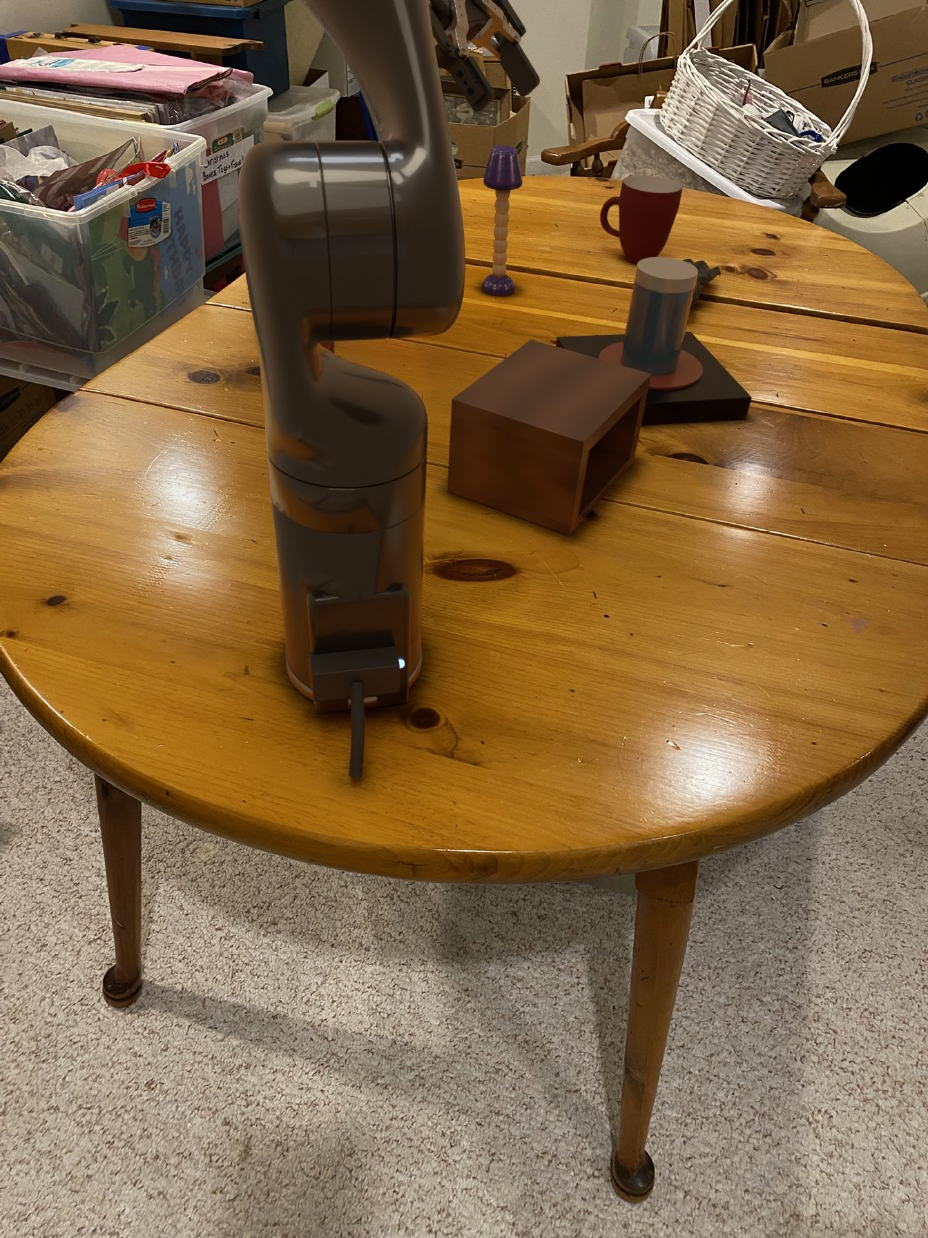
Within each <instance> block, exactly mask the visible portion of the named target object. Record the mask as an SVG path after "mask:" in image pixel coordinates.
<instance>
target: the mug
mask: <svg viewBox="0 0 928 1238" xmlns="http://www.w3.org/2000/svg"><path fill="white" fill-rule="evenodd" d="M683 189H684V187H683V185H682V184H681V183H680V182H679V181H677V180H674V179H672V178H668V177H664V176H659V175H651V174H649V175H648V174H637V175H636V174H635V175H629V176H627V177H625V178H623V179H622V181H621V187H620V191H619V196H612V197H610V198H608V199H607V200H606V201H605V202H604V203H603V205H602V206H601V210H600V214H599V220H600V221H599V222H600V225H601V227H602V229H603V230H604V231H605V232H606V233H608V234H609V235H611V236H613V237H615V238H618V239H619V244H620V246H621V247H620V248H621V249H622V253H623V256H624V259H625V260H627V262H629V263H632V264H634V265H637V263H638V262H639V261H640V260H642V259H645V258H651V257H659V255H660V254H661V252H662V251H663V250H664V248H665V246H666V244H667V242H668V239H669V237H670V234H671V231H672V228H673V226H674V223H675V219H676V217H677V215H678V212H679V208H680V204H681V200H682V193H683ZM613 206H618V229H615V228H614V227H612V226H611V225H610V223H609V220H608V216H609V215H608V214H609V211H610V209H611V208H612V207H613Z"/></svg>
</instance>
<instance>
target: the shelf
mask: <svg viewBox="0 0 928 1238" xmlns="http://www.w3.org/2000/svg"><path fill="white" fill-rule="evenodd" d="M650 379H651V374H650V373H646V372H643V371H639V370H636V369H632V368H629V367H625V366H622V365H619V364H615V363H612V362H608V361H605V360H601V359H598V358H594V357H591V356H587V355H584V354H580V353H577V352H573V351H570V350H566V349H563V348H559V347H556V345H552V344H549V343H546V342H543V341H542V342H541V341H539V340H538V341H537V340H535V339H529V340H528V341H526V342H525V343H524V344H523V345H521V346H520V347H519V348H517V349H516V350H515V351H513V352H512V353H510V355H508V356H507V357H505V358H504V359H503V360H501V361H500V362H499V363H497V364H496V365H495V366H493V367H492V368H491V369H490V370H488V371H487V372H485V374H483V375H481V376H480V377H479V378H478V379H476V380H475V381H474V382H472V383H471V384H470V385H468V386H467V387H465V388H464V389H463V390H462V391H461V392H459V393H458V394H456V395H455V396H454V397H453V398H451V405H450V407H451V408H450V425H449V426H450V430H449V446H448V447H449V448H448V466H447V467H448V469H447V470H448V471H447V488H446V489H447V490H446V491H447V492H448V493H451V494H454V495H456V496H459V497H461V498H464V499H467V500H470V501H473V502H475V503H478V504H481V505H483V506H486V507H489V508H491V509H494V510H497V511H500V512H502V513H505V514H508V515H511V516H513V517H516V518H519V519H521V520H525V521H527V522H530V523H533V524H535V525H538V526H541V527H543V528H547V529H549V530H552V531H555V532H557V533H560V534H563V535H565V536H568V537H569V536H571V535H572V534H573V532H574V531H576V529H577V528H578V526H579V525H580V524H582V522H583V521H584V520H585V519H586V518H587V517H588V515H589V514H590V513H591V512H592V511H593V510H594V508H595V507H596V506H597V505H598V504H599V503H600V501H601V500H602V499H603V498H604V497H605V495H607V494H608V492H609V491H610V490H611V489H612V488H613V486H614V485H615V484H616V483H617V482H618V481H619V480H620V478H622V476H623V475H624V474H625V473H626V472H627V470H628V469H629V468H630V467H631V466H632V465H633V464H634V462H635V458H636V453H637V447H638V443H639V438H640V433H641V429H642V425H641V423H642V418H643V413H644V408H645V403H646V398H647V393H648V389H649V384H650Z"/></svg>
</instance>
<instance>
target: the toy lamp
mask: <svg viewBox="0 0 928 1238" xmlns="http://www.w3.org/2000/svg"><path fill="white" fill-rule="evenodd" d="M482 183H483V185H484V186H485V187H486V188H488V189H490V190H494V194H495V195H494V196H495V202H494V210H495V213H494V215H493V216H494V219H493V221H494V228H493V236H494V238H493V241H492V248H493V250H494V251H493V253H492V261H493V264H492V269H491V271H492V273H490V274H489V275H487V276H486V277H485V278H484V279H483V282H482V284H481V290H482V292H483V293H484V294H487V295H490V296H493V297H494V296H495V297H505V296H510V295H512V294H514V292H515V289H516V287H515V283H514V280H513V279H512V278H511V277H510V275H507V265H506V263H507V259H508V255H507V250H508V239H507V238H508V236H509V227H508V224H509V222H510V216H509V211H510V201H509V199H510V197H511V191H514V190H518V189H520V188H521V187H522V185H523V175H522V171H521V163H520V158H519V153H518V150H517V148H516V147H514V146H511V145H507V144H504V145H501V144H500V145H495V146H493V147H492V148H491V151H490V154H489V156H488V161H487V164H486V168H485V172H484V175H483V181H482Z"/></svg>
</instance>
